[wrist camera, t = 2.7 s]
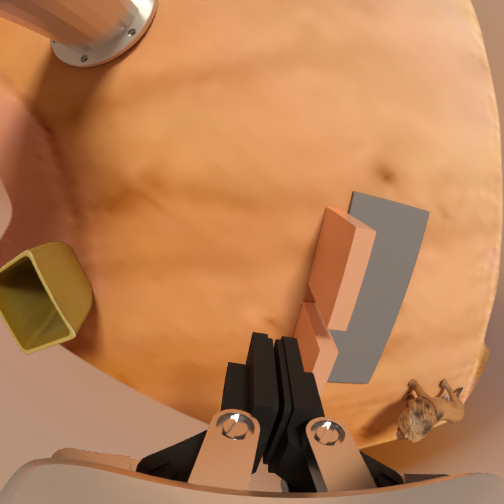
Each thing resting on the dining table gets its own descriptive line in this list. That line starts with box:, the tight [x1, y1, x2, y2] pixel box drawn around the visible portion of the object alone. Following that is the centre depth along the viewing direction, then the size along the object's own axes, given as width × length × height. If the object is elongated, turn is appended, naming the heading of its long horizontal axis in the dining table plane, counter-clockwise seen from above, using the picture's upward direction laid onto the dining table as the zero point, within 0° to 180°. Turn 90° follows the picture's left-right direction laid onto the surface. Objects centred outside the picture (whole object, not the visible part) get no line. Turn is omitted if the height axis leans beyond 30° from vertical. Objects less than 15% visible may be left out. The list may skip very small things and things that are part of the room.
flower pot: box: [0, 241, 93, 354], centre depth 27 cm, size 9×9×9 cm
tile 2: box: [308, 206, 377, 331], centre depth 26 cm, size 8×2×9 cm, turn 170°
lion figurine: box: [396, 379, 464, 443], centre depth 33 cm, size 15×5×9 cm, turn 84°
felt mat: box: [327, 191, 429, 384], centre depth 32 cm, size 22×9×1 cm, turn 170°
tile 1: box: [293, 301, 338, 397], centre depth 29 cm, size 8×2×9 cm, turn 170°
